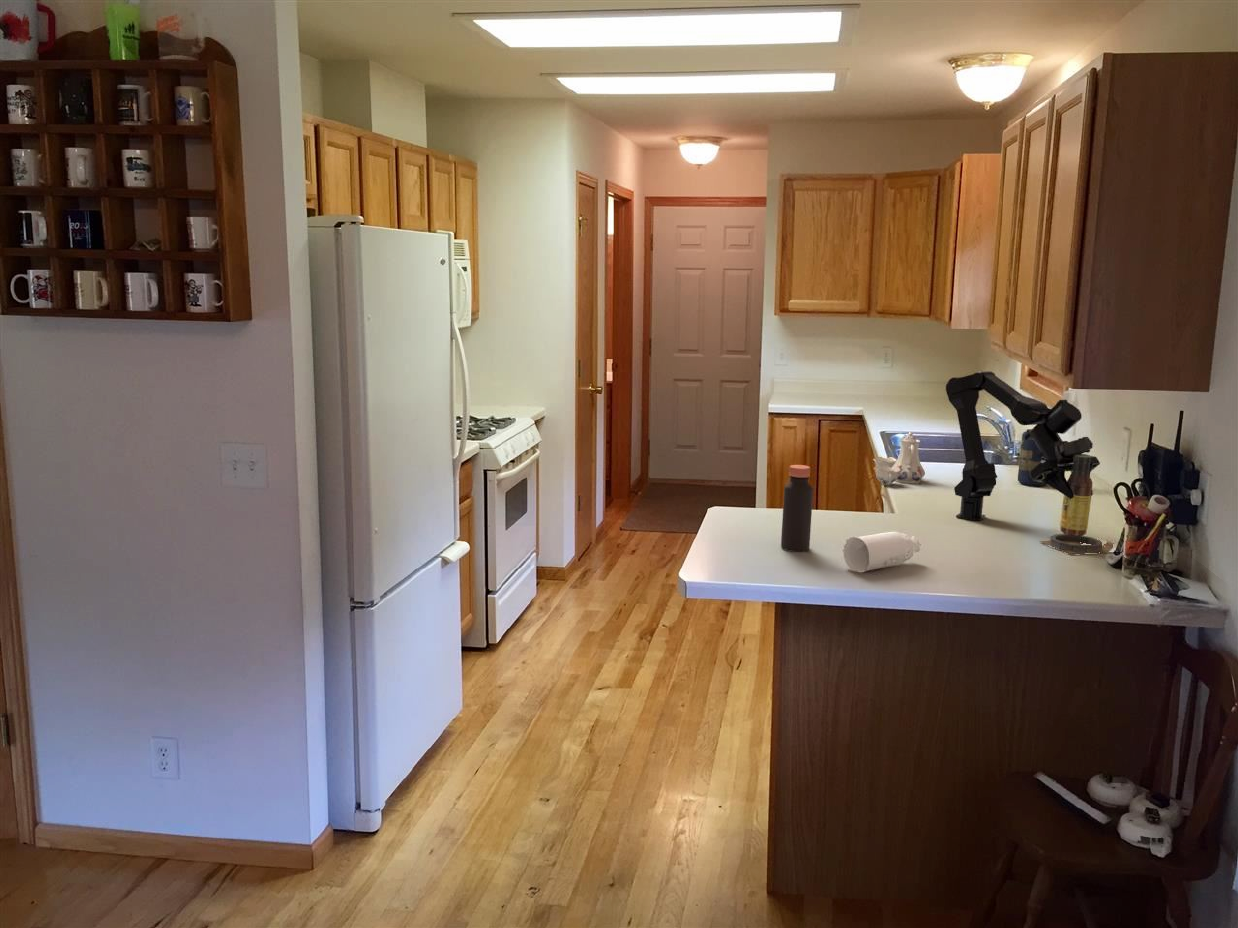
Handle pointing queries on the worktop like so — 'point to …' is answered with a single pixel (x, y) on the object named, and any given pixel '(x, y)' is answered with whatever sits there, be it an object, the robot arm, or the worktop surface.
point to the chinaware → (901, 464)
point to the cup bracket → (1078, 544)
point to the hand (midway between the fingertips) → (1081, 496)
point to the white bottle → (879, 551)
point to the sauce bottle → (1077, 498)
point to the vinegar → (797, 510)
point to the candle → (1028, 461)
